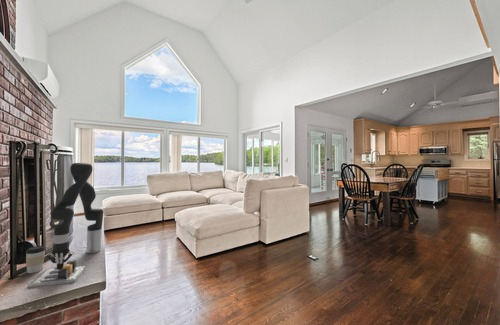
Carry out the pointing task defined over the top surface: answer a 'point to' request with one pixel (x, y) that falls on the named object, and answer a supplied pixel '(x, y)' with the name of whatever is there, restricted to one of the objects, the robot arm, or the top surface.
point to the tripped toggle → (68, 267)
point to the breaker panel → (57, 276)
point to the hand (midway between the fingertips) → (59, 269)
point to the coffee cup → (35, 258)
